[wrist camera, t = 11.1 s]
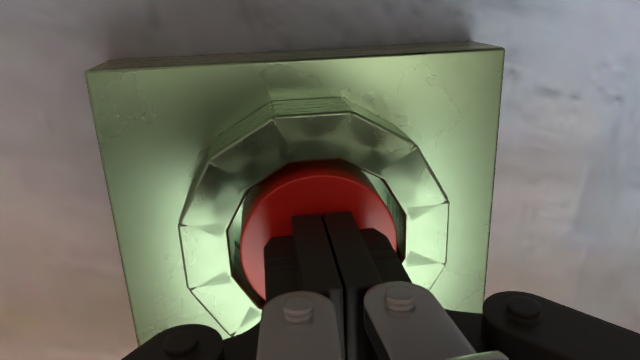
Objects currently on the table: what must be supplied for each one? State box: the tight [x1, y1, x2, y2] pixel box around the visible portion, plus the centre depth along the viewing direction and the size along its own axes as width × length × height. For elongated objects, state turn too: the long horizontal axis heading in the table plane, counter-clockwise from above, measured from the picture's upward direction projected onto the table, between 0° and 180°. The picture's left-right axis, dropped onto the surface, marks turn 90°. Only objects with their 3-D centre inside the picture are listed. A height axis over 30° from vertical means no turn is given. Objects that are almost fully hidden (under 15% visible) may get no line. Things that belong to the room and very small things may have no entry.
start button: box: [240, 159, 397, 301], centre depth 14 cm, size 4×4×2 cm
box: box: [85, 41, 505, 347], centre depth 15 cm, size 11×9×4 cm
